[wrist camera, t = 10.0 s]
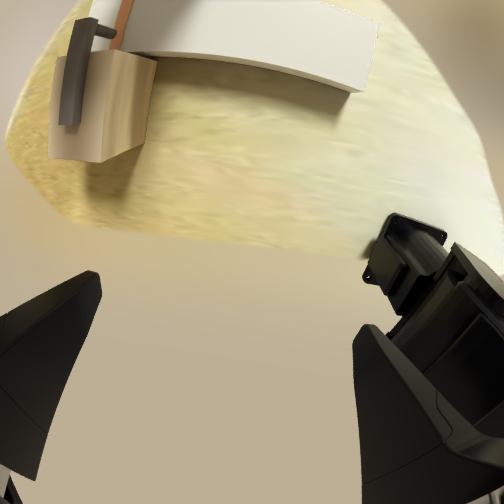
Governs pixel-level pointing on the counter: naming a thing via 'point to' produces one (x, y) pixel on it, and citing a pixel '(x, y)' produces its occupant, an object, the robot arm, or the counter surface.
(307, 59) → the board
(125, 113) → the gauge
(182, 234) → the counter surface
